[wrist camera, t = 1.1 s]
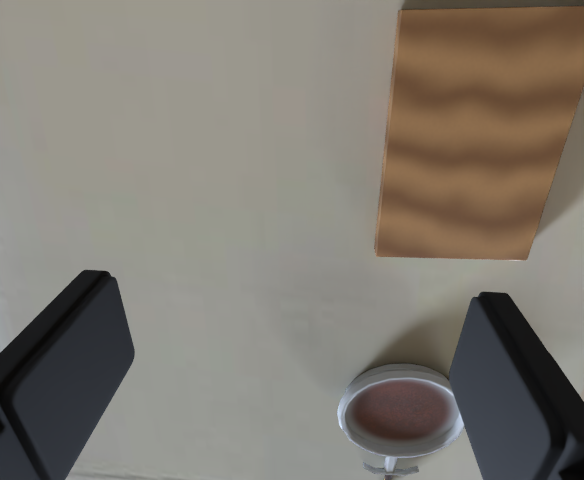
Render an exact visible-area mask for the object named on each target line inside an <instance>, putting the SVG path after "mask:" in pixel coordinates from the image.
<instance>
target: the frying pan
mask: <svg viewBox="0 0 584 480" xmlns="http://www.w3.org/2000/svg"><path fill="white" fill-rule="evenodd" d="M337 414H338V420H339V425H340V427H341V428H342V430H343V431H344V432H345V434H346V435H347V437H348V438H349V440H350V441H352V442H353V443H354V444H356V445H357V446H359V447H360V448H361V449H363V450H366V451H368V452H371V453H373V454H376V455H380V456H386V460H385V466H384V468H374V467H372V466H370V465H368V464H366V463H364V462H363V468H364V469H366V470H368V471H370V472H372V473H374V474H385V478H384V480H392V479H391V478H392V475H399V476H406V475H410V474H413V473H417V472H419V470H418V466H415V467H412V468H408V469H395V468H396V463H397V458H414V457H418V456H423V455H427V454H432V453H434V452H436V451H438V450H440V449H442V448H445V447H447V446H448V445H449V444H451V443H452V442H453V441H454V440H455V439H457V438H458V437H459V436H460V434H461V432H462V431H463V429H464V427H465V426H464V423H463V420H462V417H461V415H460V412H459V409H458V406H457V403H456V400H455V397H454V395H453V392H452V389H451V386H450V381H449V380H448V379H447V378H446V377H444V376H443V375H442V374H441V373H439V372H437V371H434V370H432V369H430V368H428V367H425V366H420V365H414V364H407V363H403V364H388V365H384V366H380V367H377V368H374V369H370V370H368V371H367V372H365V373H363V374H362V375H360V376H358V377H357V378H355V379H354V380H353V382H352V383H351V384H350V385H349V386H348V387H347V389H346V391H345V394H344V396H343V397H342V398H341V401H340V404H339V407H338V411H337Z"/></svg>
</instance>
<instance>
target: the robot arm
mask: <svg viewBox="0 0 584 480" xmlns="http://www.w3.org/2000/svg"><path fill="white" fill-rule="evenodd" d="M134 352H135V351H134V346H133V342H132V338H131V335H130V331H129V327H128V323H127V319H126V315H125V311H124V307H123V303H122V299H121V295H120V291H119V287H118V283H117V280H116V278H115V277H111V275H110V273H109V272H107V271H97V270H84V271H82V272H81V273H80V274H79V275H78V276H77V277H76V278H75V279H74V280H73V281H72V282H71V283H70V284H69V285H68V286H67V287H66V288H65V289H64V290H63V291H62V292H61V293H60V294H59V295H58V296H57V297H56V298H55V299H54V300H53V301H52V302H51V303H50V304H49V305H48V306H47V307H46V308H45V309H44V310H43V311H42V312H41V313H40V314H39V315H38V316H37V317H36V318H35V319H34V320H33V321H32V322H31V323H30V324H29V325H28V326H27V327H26V328H25V329H24V330H23V331H22V332H21V333H20V334H19V335H18V336H17V337H16V338H15V339H14V340H13V341H12V342H11V343H10V344H9V345H8V346H7V347H6V348H5V349H4V350H3V351H2V352H1V353H0V480H65V479H66V477H67V475H68V474H69V472H70V470H71V468H72V467H73V465H74V463H75V461H76V460H77V458H78V456H79V455H80V453H81V451H82V449H83V448H84V446H85V444H86V442H87V441H88V439H89V437H90V435H91V434H92V432H93V430H94V429H95V427H96V425H97V423H98V422H99V420H100V418H101V416H102V415H103V413H104V411H105V409H106V408H107V406H108V404H109V403H110V401H111V399H112V397H113V396H114V394H115V392H116V390H117V389H118V387H119V385H120V383H121V382H122V380H123V378H124V377H125V375H126V373H127V371H128V370H129V368H130V366H131V364H132V362H133V359H134ZM449 381H450V386H451V389H452V392H453V395H454V397H455V400H456V403H457V406H458V409H459V412H460V415H461V417H462V420H463V423H464V426H465V429H466V432H467V435H468V437H469V440H470V443H471V446H472V449H473V452H474V455H475V457H476V460H477V463H478V466H479V469H480V472H481V475H482V477H483V480H584V402H583V400H582V399H581V397H580V396H579V394H578V393H577V392H576V390H575V389H574V387H573V386H572V384H571V383H570V381H569V380H568V379H567V377H566V376H565V374H564V373H563V371H562V370H561V368H560V367H559V366H558V364H557V363H556V361H555V360H554V358H553V357H552V356H551V354H550V353H549V352H548V351H547V350H546V348H545V347H544V345H543V344H542V342H541V341H540V339H539V338H538V336H537V335H536V334H535V332H534V331H533V329H532V328H531V326H530V325H529V323H528V322H527V321H526V319H525V318H524V316H523V315H522V313H521V312H520V310H519V309H518V307H517V306H516V305H515V303H514V302H513V300H512V299H511V297H510V296H509V295H508V294H506V293H497V292H481V293H480V294H479V296H478V297H473V298H472V299H471V302H470V305H469V308H468V312H467V315H466V318H465V322H464V325H463V328H462V332H461V335H460V338H459V342H458V345H457V348H456V352H455V355H454V358H453V362H452V365H451V368H450V372H449Z"/></svg>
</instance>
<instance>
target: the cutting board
mask: <svg viewBox="0 0 584 480" xmlns="http://www.w3.org/2000/svg"><path fill="white" fill-rule="evenodd" d="M583 87H584V6H549V7H503V8H456V9H410V10H400V11H398V18H397V28H396V38H395V48H394V58H393V68H392V78H391V88H390V97H389V107H388V117H387V127H386V137H385V147H384V157H383V167H382V177H381V187H380V197H379V207H378V216H377V226H376V236H375V246H374V249H375V253H376V257H410V258H448V259H486V260H523V261H527V258H528V255H529V252H530V249H531V246H532V243H533V240H534V237H535V234H536V231H537V228H538V224H539V221H540V218H541V215H542V212H543V209H544V206H545V203H546V200H547V197H548V194H549V191H550V188H551V185H552V182H553V179H554V176H555V172H556V169H557V166H558V163H559V160H560V157H561V154H562V151H563V148H564V145H565V142H566V139H567V136H568V133H569V130H570V127H571V124H572V120H573V117H574V114H575V111H576V108H577V105H578V102H579V99H580V96H581V93H582V90H583Z"/></svg>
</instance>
